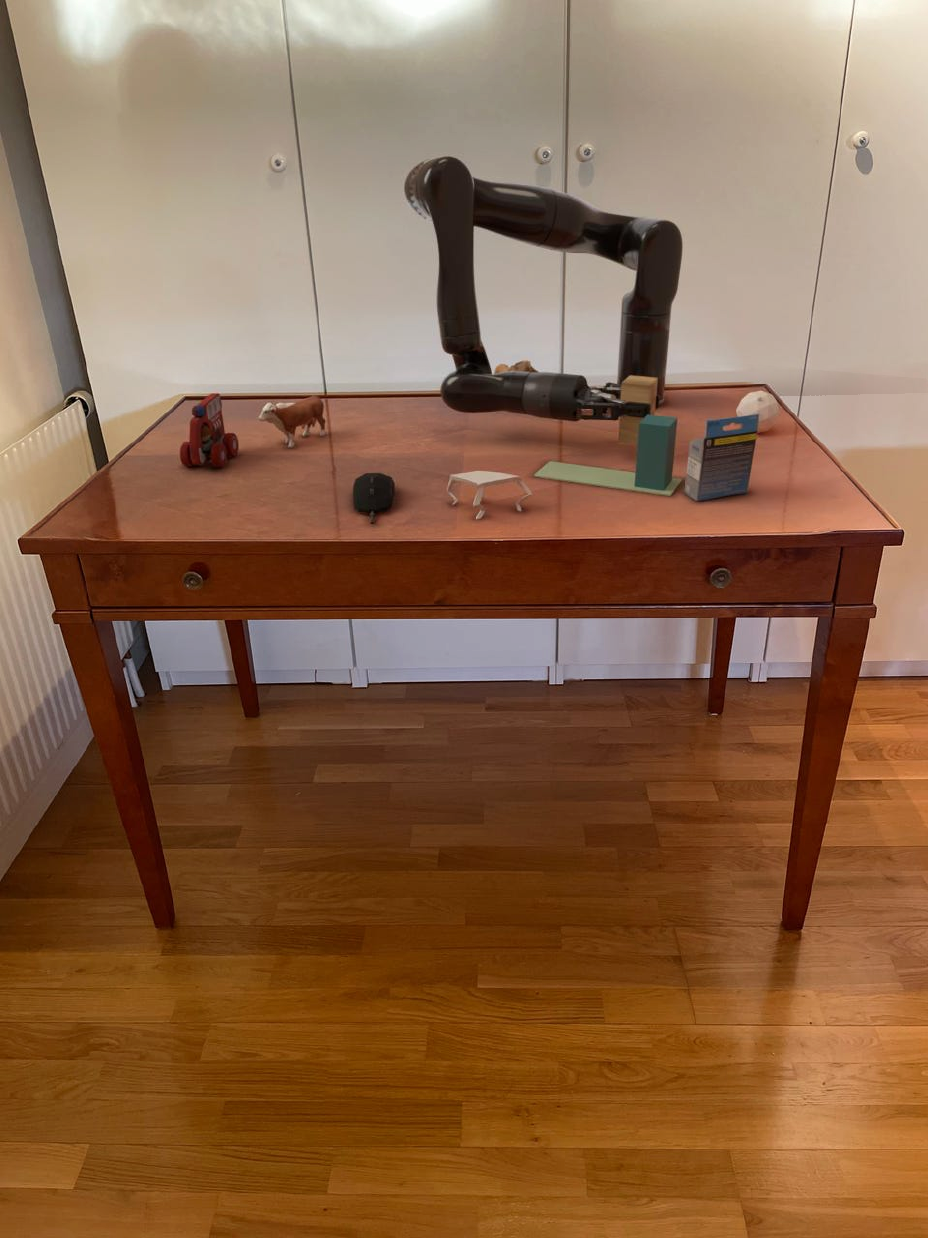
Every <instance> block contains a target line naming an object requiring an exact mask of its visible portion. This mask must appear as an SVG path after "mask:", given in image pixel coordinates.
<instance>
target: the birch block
mask: <svg viewBox="0 0 928 1238" xmlns="http://www.w3.org/2000/svg"><path fill="white" fill-rule="evenodd" d="M657 381H658V378H654V377H643V376H631V375H630V376H629V377H628V378H627V379H625V380H624V381H623V382H622V384H621V400H624V401H627V402H628V401H630V402H639V403H649V404H650V405H651V415H656V409H655V407H656V394H657ZM643 419H644V418H640V417H631V416H627V415H626V417H623V418H621V417H619V419H618V421H619V422H618V436H617V437H618V440H617V443H618V444H621V445H629V446H630V445H631V446H637V444H638V431H639V423H640V422H641V421H642V420H643Z"/></svg>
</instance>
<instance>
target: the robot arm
mask: <svg viewBox="0 0 928 1238" xmlns="http://www.w3.org/2000/svg"><path fill="white" fill-rule="evenodd" d="M403 193H404V197H405V200H406V203H407V205H408V206H409V208H410V209H411V211H413V213H414V214H415V215H417V216H418V217H420V218H421V219H423V220H425V221H427V222H431V223H432V225H433V229H434V234H435V239H436V245H437V254H438V255H437V256H438V258H437V259H438V260H437V261H438V263H437V264H438V266H437V280H436V288H435V311H436V312H435V313H436V318H437V326H438V334H439V341H440V345H441V348H442V350H443V352H445V354H447V355H451V356H452V360H453V363H454V367H455V370H453V371H451V372H449V373H448V374H447V375H446V376H445V377H444V378H443V379H442V381H441V384H440V388H439V390H440V391H439V392H440V397H441V399H442V401H443V403H444V404H445V405H446V406H447V407H448V408H450V409H451V410H454V411H455V412H459V413H464V414H465V413H466V414H484V413H485V414H486V413H498V412H499V413H500V412H505V413H511V414H520V415H527V416H528V415H529V416H532V417H536V418H540V419H550V420H557V421H565V422H566V421H568V422H574V423H575V422H579V421H580V420H584V421H586V420H587V421H615V422H616V421H619V419H620V417H621V418H623V417H626V415H627V416H631V417H640V418H645V417H646V416H647V415H648V414H649V415H651V405H650V404H649V403H639V402H630V401H628V402H627V401H624V400H621V384H622V382H623V381H624V380H625V379H627V378H628V377H629V376H630V375H631V376H643V377H654V378H658V381H657V394H656V407H655V410H657V409H658V408H660V406H662V405H663V404H664V403H665V390H666V389H665V387H666V379H667V377H666V376H667V365H668V355H669V352H668V351H669V340H670V329H671V317H672V307H673V303H674V300H675V298H676V296H677V293H678V290H679V284H680V283H679V281H680V274H681V267H682V259H683V248H684V247H683V245H684V244H683V243H684V242H683V236H682V233H681V229H680V228H679V226H678V225H677V224H676V223H674V222H673V221H670V220H668V219H663V218H656V217H649V216H634V215H625V214H619V213H614V212H613V213H612V212H608V211H604V210H602V209H599V208H597V207H596V206H594V205H592V204H590V203H589V202H587V201H586V200H583V199H581V198H579V197H578V196H574V195H572V194H569V193H566V192H564V191H559V190H556V189H553V188H549V187H544V186H541V185H540V186H539V185H534V184H526V183H516V182H499V181H491V180H485V179H482V178H479V177H475V176H473V174H472V172H471V170H470V168H469V167H468V165H466V163H465V162H463V160H461V159H459V158H457V157H454V156H449V155H444V156H439V157H438V156H437V157H431V158H428V159H426V160H425V159H424V160H422V161H421V162H419V163H417V164H416V165H415V166H414V167H413V168H412V169H410V171H409V172H408V173H407V176H406V177H405V180H404V185H403ZM475 228H479V229H482V230H486V231H488V232H491V233H494V234H496V235H499V236H502V237H504V238H508V239H510V240H514V241H516V242H521V243H523V244H527V245H529V246H533V247H536V248H541V249H545V250H550V251H554V252H559V253H569V254H589V255H592V256H597V257H600V258H603V259H606V260H609V261H610V262H613V263H616V264H618V265H621V266H623V267H624V268H627V269H630V270H632V271H634V272H635V278H634V285H633V289H632V290H631V291H629V292H627V293H625V294H624V295H623V296H622V299H621V305H620V306H621V307H620V308H621V309H620V310H621V311H620V325H619V326H620V329H619V343H618V344H619V345H618V361H617V377H616V383H614V382H606V383H605V385H595V387H590V386H589V384H588V380H587V378H586V377H585V376H584V375H582V374H571V373H560V372H550V371H549V372H547V371H540V372H539V371H538V372H536V373H534V372H522V371H504V372H501V373H498V374H494V373H493V370H492V367H491V363H490V360H489V357H488V354H487V351H486V348H485V346H484V343H483V341H482V334H481V333H482V332H481V324H480V316H479V308H478V299H477V292H476V290H477V289H476V278H475Z"/></svg>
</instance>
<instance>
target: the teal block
mask: <svg viewBox="0 0 928 1238" xmlns="http://www.w3.org/2000/svg"><path fill="white" fill-rule="evenodd" d="M678 420H679V419H678V417H676V416H669V415H668V416H667V415H659V414H655V415H649V414H648V415H647V416H646V417H645V418H644V419H643V420H642V421H641V422H640V423H639V431H638V444H637V445H636V459H635V472H634V473H635V487H641V488H648V489H655V490H662V491H664V490H665V489H666V487H667V486H668V485H669V483H670V482H671V481H672V478H673V471H674V460H675V450H676V440H677V439H676V438H677V429H678V428H677V427H678Z"/></svg>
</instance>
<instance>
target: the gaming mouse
mask: <svg viewBox="0 0 928 1238" xmlns="http://www.w3.org/2000/svg"><path fill="white" fill-rule="evenodd" d="M352 485H353V486H352V494H353V510H355V511H356V512H358V513H359V514H368V515H369V518H370V524H371V525H374V521H375V516H376V515H375V514H381V513H385V512H388V511H389V510H390V509H392V508H393V504H394V500H395V494H396V485H395V481H394V479H393V477H392V476H390V475H387V474H385V473H383V472H365V473H363V474H362V475H360V476H358V477H357V478H355V480H354V482H353V484H352Z"/></svg>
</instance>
